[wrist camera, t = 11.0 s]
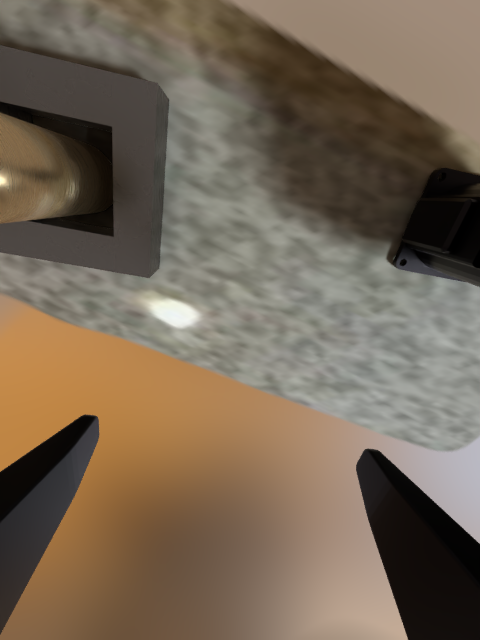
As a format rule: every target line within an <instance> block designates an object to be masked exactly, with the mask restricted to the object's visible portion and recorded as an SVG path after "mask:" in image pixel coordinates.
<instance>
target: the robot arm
mask: <svg viewBox="0 0 480 640" xmlns="http://www.w3.org/2000/svg"><path fill="white" fill-rule="evenodd" d="M439 174H441V175H442V177H441V179H440V181H438V176H439ZM402 239H403V240H402V242H401V245H400V247H399V249H398V252H397V254H396V256H395V258H394V261H393V265H394V266H395V267H396V268H398V269H401V270H406V271H411V272H416V273H421V274H427V275H432V276H437V277H442V278H447V279H453V280H458V281H463V282H468V283H470V284H473V285H476V286H478V287H480V176H478V175H473V174H469V173H465V172H461V171H457V170H452V169H448V168H440V169H437V170H435V171H434V172H433V173H432V174H431V176H430V178H429V180H428V183H427V185H426V187H425V190H424V192H423V194H422V197H421V199H420V200H419V201H418V202H417V205H416V207H415V209H414V212H413V214H412V216H411V219H410V221H409V223H408V226H407V228H406V230H405V232H404V235H403V237H402ZM401 260H404V261H403V263H402V264H401V265H400V261H401ZM98 438H99V420H98V417H97V416H94V415H83V416H81V417H79V418H78V419H76V420H75V421H74V422H72V423H71V424H69V425H68V426H66V427H65V428H63V429H62V430H61V431H59V432H58V433H56V434H55V435H53V436H52V437H50V438H49V439H47V440H46V441H45V442H43V443H41V444H40V445H39V446H37V447H36V448H34V449H33V450H31V451H30V452H28V453H27V454H26V455H24V456H23V457H21V458H20V459H18V460H17V461H16V462H14V463H12V464H11V465H10V466H8V467H7V468H5V469H4V470H2V471H1V472H0V634H1V632H2V630H3V628H4V627H5V625H6V623H7V621H8V619H9V617H10V615H11V614H12V612H13V610H14V608H15V606H16V604H17V602H18V600H19V599H20V597H21V594H22V593H23V591H24V589H25V587H26V586H27V584H28V582H29V580H30V578H31V576H32V574H33V572H34V571H35V569H36V567H37V565H38V563H39V561H40V559H41V558H42V556H43V554H44V552H45V550H46V548H47V546H48V544H49V543H50V541H51V539H52V537H53V535H54V533H55V531H56V530H57V528H58V526H59V524H60V522H61V520H62V519H63V517H64V515H65V513H66V511H67V509H68V507H69V506H70V504H71V502H72V500H73V498H74V496H75V493H76V492H77V490H78V487H79V485H80V483H81V480H82V478H83V475H84V473H85V471H86V468H87V466H88V464H89V461H90V459H91V456H92V454H93V452H94V449H95V447H96V444H97V442H98ZM356 471H357V475H358V480H359V484H360V488H361V492H362V496H363V500H364V505H365V509H366V513H367V516H368V520H369V523H370V527H371V530H372V532H373V535H374V539H375V542H376V545H377V548H378V550H379V554H380V557H381V559H382V563H383V565H384V569H385V571H386V574H387V577H388V580H389V583H390V586H391V589H392V593H393V596H394V599H395V601H396V604H397V607H398V610H399V613H400V616H401V619H402V622H403V625H404V628H405V631H406V634H407V637H408V640H480V544H479V543H478V542H477V541H476V540H475V539H474V538H473V537H472V536H470V534H468V533H467V532H466V531H465V530H464V529H463V528H462V527H461V526H460V525H459V524H458V523H456V522H455V521H454V520H453V519H452V518H451V517H450V516H449V515H448V514H447V513H446V512H445V511H444V510H442V509H441V508H440V507H439V506H438V505H437V504H436V503H435V502H434V501H433V500H432V499H430V497H428V496H427V495H426V494H425V493H424V492H423V491H422V490H421V489H420V488H419V487H418V486H417V485H415V484H414V483H413V482H412V481H411V480H410V479H409V478H408V477H407V476H406V475H405V474H404V473H402V472H401V471H400V470H399V469H398V468H397V467H396V466H395V465H394V464H393V463H392V462H391V461H390V460H388V459H387V458H386V457H385V456H384V455H383V454H382V453H381V452H380V451H378V450H374V449H365V450H364V451H363V453H362V455H361V457H360V459H359V460H358V462H357V465H356Z"/></svg>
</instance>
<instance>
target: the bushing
mask: <svg viewBox="0 0 480 640" xmlns="http://www.w3.org/2000/svg"><path fill="white" fill-rule="evenodd" d="M112 203H113V166H112V164H111V163H110V161H109V160H108V158H107V157H106V156H105V155H104V154H103V153H102V152H101V151H100V150H98V149H97V148H95V147H94V146H92V145H89V144H87V143H84V142H81V141H79V140H76V139H73V138H70V137H67V136H65V135H62V134H59V133H56V132H53V131H51V130H48V129H45V128H42V127H39V126H37V125H34V124H31V123H28V122H26V121H23V120H20V119H17V118H14V117H12V116H9V115H6V114H3V113H0V224H1V223H10V222H19V221H27V220H36V219H45V218H54V217H63V216H72V215H81V214H90V213H98V212H102V211H104V210H106V209H107V208H109V207H110V206H111V205H112Z"/></svg>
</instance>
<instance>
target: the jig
mask: <svg viewBox="0 0 480 640" xmlns="http://www.w3.org/2000/svg"><path fill="white" fill-rule="evenodd" d="M168 109H169V99H168V98H167V96H166V95H165V93H164V92H163V90H162V89H161V88H160V86H159V85H158V83H155V82H151V81H147V80H142V79H138V78H134V77H130V76H126V75H122V74H118V73H114V72H109V71H105V70H101V69H97V68H93V67H89V66H85V65H81V64H76V63H72V62H68V61H64V60H60V59H56V58H52V57H48V56H43V55H39V54H35V53H31V52H27V51H23V50H19V49H14V48H10V47H6V46H2V45H0V113H3V114H6V115H9V116H12V117H14V118H17V119H20V120H23V121H26V122H28V123H31V124H33V122H32V115H35V116H40V117H44V118H49V119H54V120H58V121H63V122H67V123H72V124H76V125H81V126H85V127H90V128H94V129H99V130H103V131H108V132H112V147H113V215H114V229H111V228H106V227H100V226H95V225H90V224H85V223H79V222H74V221H69V220H63V219H58V218H45V219H36V220H27V221H19V222H10V223H1V224H0V252H2V253H7V254H13V255H19V256H25V257H31V258H36V259H42V260H48V261H54V262H60V263H65V264H71V265H77V266H83V267H89V268H94V269H100V270H106V271H112V272H117V273H123V274H129V275H135V276H141V277H146V278H150V277H151V276H152V275H153V274H154V273H155V272H156V271H157V270H158V269H159V263H160V246H161V229H162V212H163V195H164V178H165V161H166V144H167V126H168Z"/></svg>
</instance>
